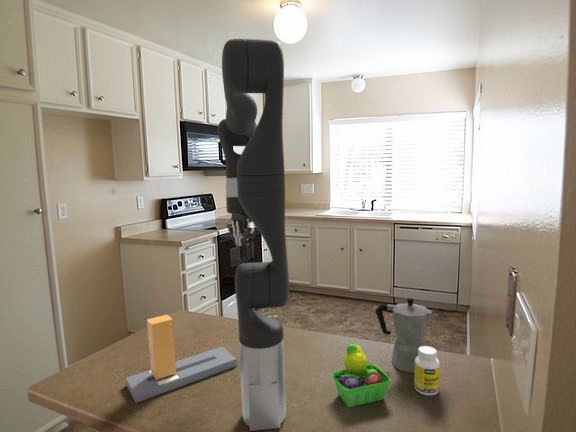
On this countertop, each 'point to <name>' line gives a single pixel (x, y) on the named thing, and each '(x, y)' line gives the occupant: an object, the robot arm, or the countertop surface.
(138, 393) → the switch panel
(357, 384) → the fruit basket
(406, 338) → the coffeepot
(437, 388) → the supplement bottle
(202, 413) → the countertop surface
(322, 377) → the countertop surface
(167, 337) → the slider tab
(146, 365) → the countertop surface
